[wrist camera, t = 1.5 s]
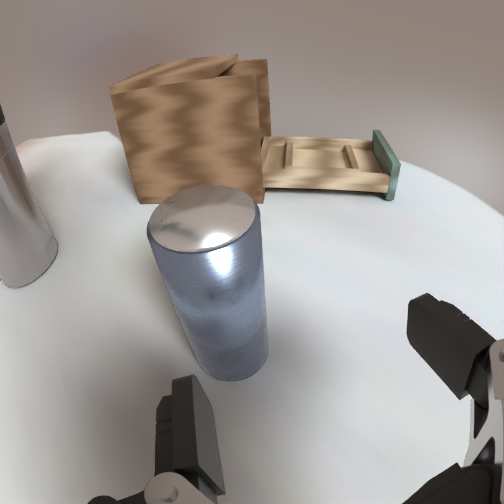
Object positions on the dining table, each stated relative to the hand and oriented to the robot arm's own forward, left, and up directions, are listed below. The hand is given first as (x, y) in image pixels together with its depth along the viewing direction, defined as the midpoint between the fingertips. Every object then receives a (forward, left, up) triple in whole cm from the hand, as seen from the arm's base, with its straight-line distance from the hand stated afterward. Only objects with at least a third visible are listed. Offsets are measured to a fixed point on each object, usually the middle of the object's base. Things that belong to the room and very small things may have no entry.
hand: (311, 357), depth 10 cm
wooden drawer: (+8, +31, -10) cm, 34 cm away
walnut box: (-7, +34, -11) cm, 36 cm away
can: (-4, +7, -11) cm, 13 cm away
